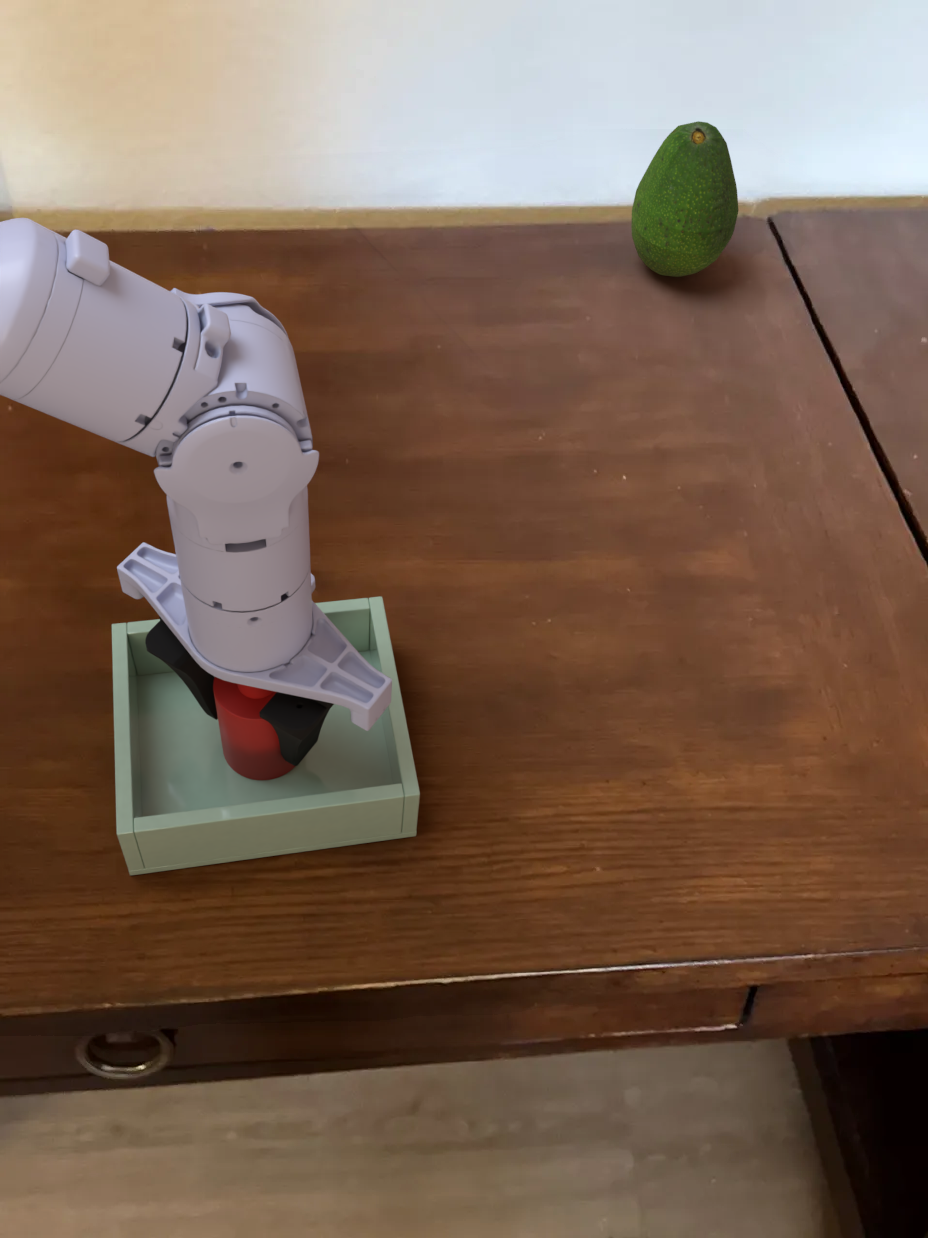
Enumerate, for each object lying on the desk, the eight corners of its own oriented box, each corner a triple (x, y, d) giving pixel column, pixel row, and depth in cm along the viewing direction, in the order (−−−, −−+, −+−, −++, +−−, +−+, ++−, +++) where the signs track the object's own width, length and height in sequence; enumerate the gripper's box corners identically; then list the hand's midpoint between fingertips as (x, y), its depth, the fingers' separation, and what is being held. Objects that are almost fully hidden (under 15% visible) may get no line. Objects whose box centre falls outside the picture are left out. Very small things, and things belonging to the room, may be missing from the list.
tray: (129, 876, 61) (116, 834, 57) (123, 671, 68) (111, 623, 65) (416, 836, 63) (420, 794, 60) (380, 643, 71) (382, 595, 67)
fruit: (599, 255, 95) (627, 112, 85) (677, 227, 98) (712, 86, 88) (662, 312, 91) (699, 169, 82) (741, 282, 94) (785, 140, 85)
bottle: (225, 786, 64) (211, 700, 57) (219, 716, 66) (206, 626, 60) (309, 775, 65) (305, 689, 58) (300, 706, 67) (295, 616, 61)
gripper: (433, 575, 53) (419, 738, 64) (172, 440, 57) (200, 614, 68) (342, 686, 50) (343, 839, 60) (68, 532, 53) (116, 702, 64)
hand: (262, 726), depth 64 cm, fingers closed on bottle, 4 cm apart
